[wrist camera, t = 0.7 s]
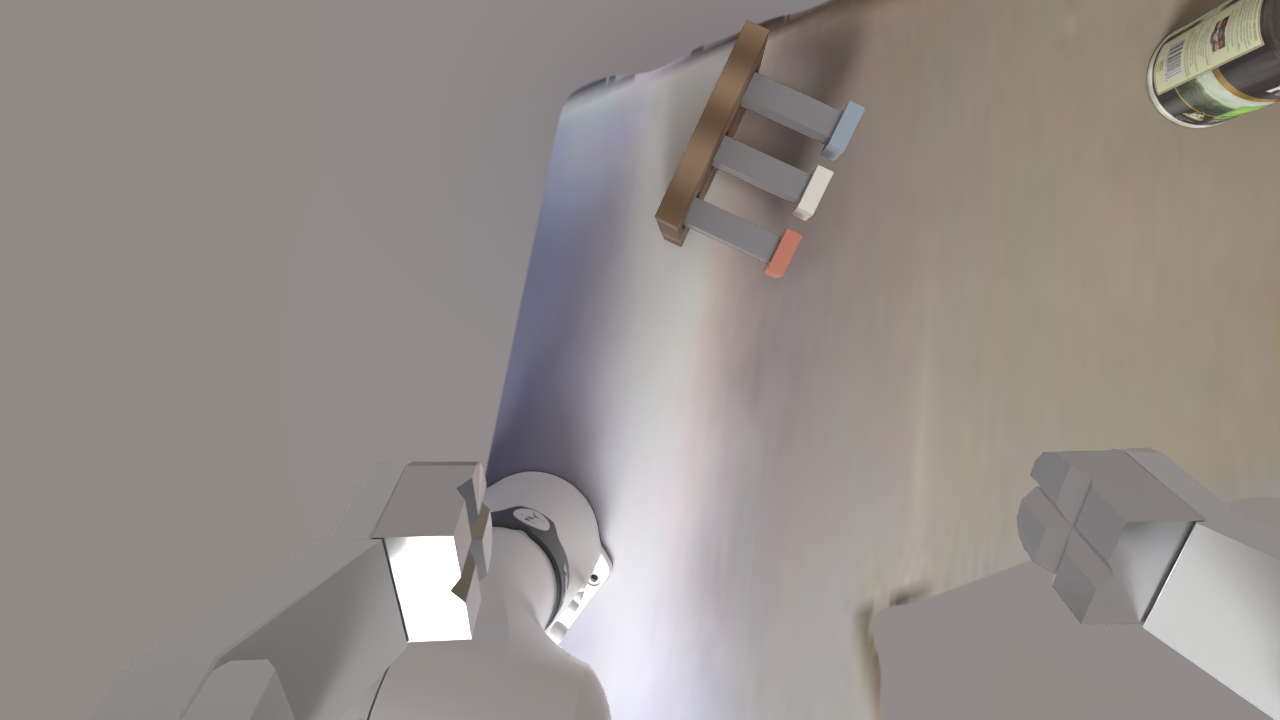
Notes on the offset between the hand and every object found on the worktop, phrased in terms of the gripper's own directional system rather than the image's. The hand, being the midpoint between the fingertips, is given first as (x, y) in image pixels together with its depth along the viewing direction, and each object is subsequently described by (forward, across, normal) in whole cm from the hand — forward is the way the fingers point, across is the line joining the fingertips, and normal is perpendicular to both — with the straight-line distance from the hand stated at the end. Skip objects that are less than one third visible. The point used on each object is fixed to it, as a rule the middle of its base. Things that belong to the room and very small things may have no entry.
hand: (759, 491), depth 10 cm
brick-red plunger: (+53, +8, -12) cm, 55 cm away
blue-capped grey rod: (+57, +13, -2) cm, 58 cm away
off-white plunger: (+55, +10, -7) cm, 56 cm away
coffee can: (+61, +55, +1) cm, 82 cm away
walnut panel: (+62, +7, -8) cm, 63 cm away
